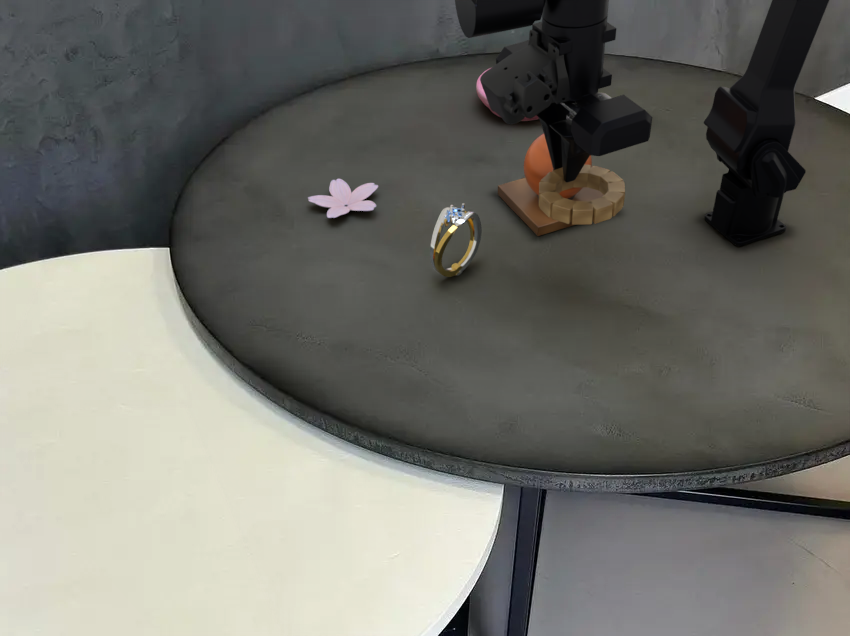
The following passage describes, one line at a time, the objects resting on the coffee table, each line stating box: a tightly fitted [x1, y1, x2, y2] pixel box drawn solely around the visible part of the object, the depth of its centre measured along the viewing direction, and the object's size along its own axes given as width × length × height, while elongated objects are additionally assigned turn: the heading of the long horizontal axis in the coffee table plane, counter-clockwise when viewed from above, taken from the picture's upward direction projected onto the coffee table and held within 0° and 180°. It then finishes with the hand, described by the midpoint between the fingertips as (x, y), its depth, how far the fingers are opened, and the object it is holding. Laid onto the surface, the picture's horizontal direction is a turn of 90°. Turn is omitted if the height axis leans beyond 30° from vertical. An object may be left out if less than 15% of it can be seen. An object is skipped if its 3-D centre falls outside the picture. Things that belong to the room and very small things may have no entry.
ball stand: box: [497, 133, 604, 237], centre depth 112 cm, size 10×10×9 cm
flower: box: [307, 177, 379, 219], centre depth 116 cm, size 10×10×2 cm
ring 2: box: [539, 164, 626, 226], centre depth 96 cm, size 8×8×2 cm
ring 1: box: [429, 202, 483, 278], centre depth 104 cm, size 7×3×8 cm, turn 132°
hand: (564, 176), depth 98 cm, fingers closed on ring 2, 2 cm apart
